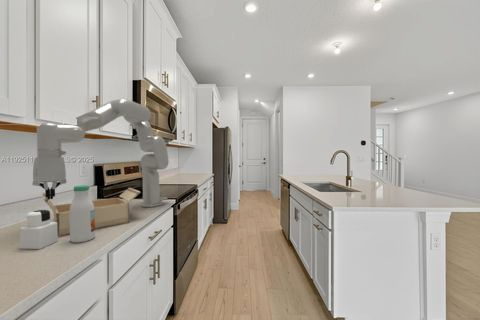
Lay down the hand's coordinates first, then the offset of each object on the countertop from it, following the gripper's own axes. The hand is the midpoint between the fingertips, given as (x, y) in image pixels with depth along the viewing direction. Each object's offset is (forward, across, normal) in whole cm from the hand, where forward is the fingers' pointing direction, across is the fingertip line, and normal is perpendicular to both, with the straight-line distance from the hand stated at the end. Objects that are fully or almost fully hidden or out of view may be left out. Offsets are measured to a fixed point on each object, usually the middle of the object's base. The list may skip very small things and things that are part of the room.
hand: (50, 198), depth 92 cm
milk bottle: (+14, -8, +19) cm, 25 cm away
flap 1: (+4, -1, 0) cm, 4 cm away
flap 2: (+4, -28, 0) cm, 28 cm away
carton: (+13, -14, 0) cm, 20 cm away
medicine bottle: (+14, +4, +15) cm, 21 cm away
